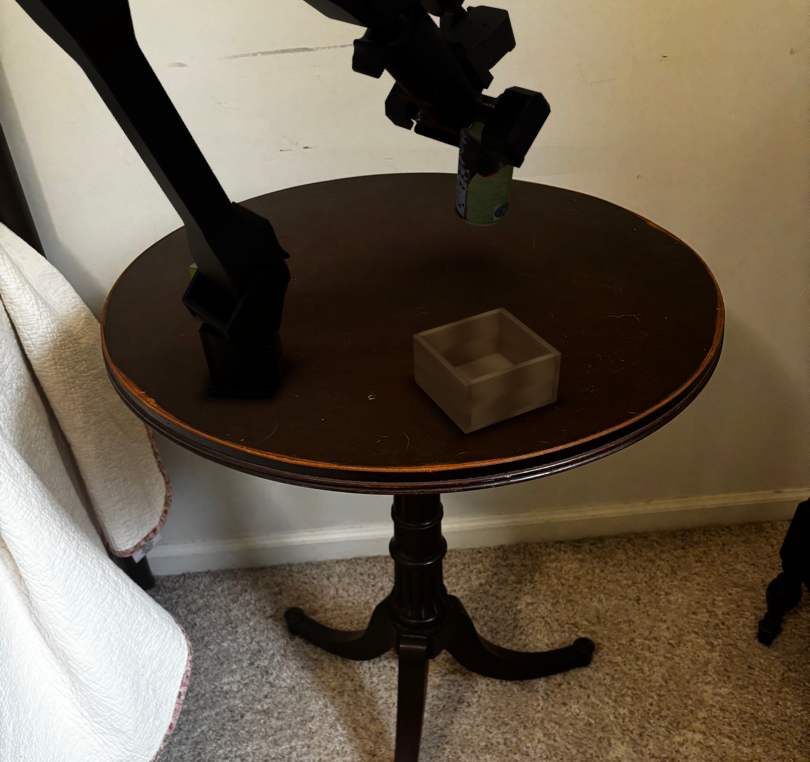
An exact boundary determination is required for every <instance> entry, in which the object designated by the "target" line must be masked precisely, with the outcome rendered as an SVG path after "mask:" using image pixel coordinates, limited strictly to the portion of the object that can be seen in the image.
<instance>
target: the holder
mask: <svg viewBox="0 0 810 762" xmlns="http://www.w3.org/2000/svg"><path fill="white" fill-rule="evenodd" d="M412 344H413V365H414V366H413V368H414V382H415V384H417V385H418V387H420V389H422V390H423V392H424V393H425V394H426V395H427V396H429V398H430V399H432V401H433V402H434V403H435V404H436V405H437V406H438V407H439V408H440V410H442V412H444V414H446V415H447V417H449V419H451V421H453V423H454V424H456V426H457V427H458V428H459V429H460V430H461V431H462V432H463V433H464V434H465V435H466V434H469V433H472V432H476V431H478V430H480V429H483V428H486V427H489V426H491V425H495V424H498V423H500V422H503V421H506V420H508V419H509V420H510V419H512V418H514V417H516V416H517V417H518V416H519V415H522V414H525V413H528V412H531V411H534V410H536V409H539V408H541V407H545V406H547V405H550V404H553V403H555V402H557V400H558V391H559V381H560V371H561V361H562V353H561V351H559V350H557V349H556V348H555V347H554V346H552V345H551V344H550V343H548V341H546V340H545V339H544V338H542V337H541V336H540V335H539V334H537V333H536V332H535V331H534V330H532V329H531V328H530V327H529V326H527V325H526V324H524V323H523V322H522V321H521V320H519V319H518V318H517V317H515V316H514V314H512V313H510V312H509V311H508V310H507V309H505V308H504V307H498V308H495V309H492V310H489V311H485V312H483V313H479V314H476V315H473V316H469V317H466V318H464V319H463V318H462V319H460V320H457V321H454V322H450V323H447V324H443V325H441V326H438V327H437V326H436V327H433V328H430V329H428V330H424V331H421V332H418V333H415V334H413V335H412Z"/></svg>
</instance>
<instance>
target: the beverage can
mask: <svg viewBox="0 0 810 762" xmlns="http://www.w3.org/2000/svg"><path fill="white" fill-rule="evenodd" d="M484 126H485V124H483V123H480V122H476V121H475V123H474V126H473V127H472V129H471V130H466V129H463V128H462V129H461V131H460V143H459V148H458V157H457V158H458V159H457V172H456V187H455V199H454V200H455V202H454V211H455V214H456V215H457V216H458V217H459V218H460V219H461V220H462V221H463V222H465V223H466V224H468V225H471V226H474V227H490V226H494V225H496V224H498V223H499V222H501V221H503V220H504V219H506V218H507V216H508V214H509V209H510V201H511V193H512V184H513V177H514V176H513V175H514V168H515V167H513V166H510V165H507V164H504V163H501V162H498V161H495V160H492V159H489V158H486V157H483V156H481V155H479V152H480V150H481V131H482V130H483V128H484Z"/></svg>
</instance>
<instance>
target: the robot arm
mask: <svg viewBox="0 0 810 762" xmlns="http://www.w3.org/2000/svg"><path fill="white" fill-rule="evenodd" d="M14 1H15V3H17V5H18V6H19V7H20V8H21V9H22V10H23V11H24V13H25V14H26V15H27V16H28V17H29V18H30V19H31V20H32V22H33V23H35V24H36V26H38V28H40V29H41V30H42V31H43V33H45V34H46V35H47V36H48V37H49V38H50V39H51V40H52V41H53V42H54V43H55V44H56V45H57V46H59V48H61V50H63V51H64V52H65V53H66V54H67V55H68V57H70V58H71V59H72V60H73V61H74V62H75V63H76V64H77V66H79V68H80V69H81V70H82V71H83V73H84V74H85V76H86V78H87V79H88V81H89V83H90V84H91V85H92V87H93V88H94V90H95V91H96V93H97V95H98V96H99V97H100V99H101V100H102V102H103V103H104V105H105V106H106V108H107V110H108V111H109V112H110V114H111V116H112V117H113V119H114V120H115V121H116V122H117V124H118V126H119V128H120V129H121V131H122V132H123V133H124V134H125V137H126V138H127V139H128V141H129V142H130V144H131V145H132V147H133V149H134V150H135V152H136V153H137V155H138V157H140V159H141V161H142V163H144V165H145V167H146V168H147V170H148V171H149V172H150V174H151V176H152V177H153V179H154V180H155V181H156V183H157V185H158V186H159V188H160V189H161V191H162V192H163V194H164V196H165V198H167V200H168V202H169V203H170V204H171V206H172V207H173V209H174V210H175V213H177V215H178V216H179V218H180V219H181V221H182V223H183V225H184V228H185V233H186V238H187V244H188V245H187V246H188V250H189V252H190V255H191V256H192V259H193V261H194V263H196V266H197V270H196V272H195V274H194V276H193V278H192V279H191V280H190V282H189V283H188V286H187V287H186V290H185V291H184V293H183V295H182V296H181V302H182V303H183V305H184V306H185V308H186V309H187V311H188V312H189V313H190V315H191V316H192V317H194V318H196V319H198V320H200V321H201V322H202V323H201V325H200V327H199V329H198V334H199V337H200V338H199V339H200V341H201V346H202V350H203V352H204V357H205V361H206V365H207V369H208V374H209V376H210V381H209V383H208V386H207V387H206V394H207V396H210V397H237V398H238V397H239V398H271V397H272V396H273V394H274V392H275V390H276V387H277V385H278V383H279V382H280V381H281V379H282V377H283V373H284V371H285V369H286V359H285V356H284V350H283V346H282V340H281V335H280V334H281V333H280V329H281V324H282V317H283V309H284V303H285V296H286V293H287V292H288V287H289V283H290V282H291V280H292V279H291V271H290V268H289V265H288V263H287V261H286V260H289V259H290V258H291V254H290V253H288V252H287V251H285V250H284V248H283V247H282V246H281V244H280V243H279V240H278V237H277V234H276V232H275V229H274V227H273V225H272V223H271V221H270V220H269V219H268V218H267V217H265V216H262V215H261V214H259V213H257V212H255V211H253V210H251V209H249V208H248V207H245V206H244V205H243V204H240V203H239V202H236V201H234V200H232V201H231V199H230V198H229V196H228V194H227V192H226V191H225V189H224V188H223V185H222V184H221V182H220V180H219V178H218V177H217V175H216V174H215V172H214V171H213V168H212V167H211V166H210V163H209V162H208V161H207V159H206V156H205V155H204V153H203V152H202V150H201V148H200V147H199V146H198V143H197V142H196V140H195V138H194V137H193V134H192V133H191V132H190V130H189V128H188V126H187V124H186V123H185V121H184V120H183V118H182V116H181V114H180V113H179V111H178V110H177V108H176V106H175V104H174V103H173V101H172V99H171V98H170V95H168V93H167V91H166V89H165V87H164V86H163V84H162V82H161V81H160V79H159V77H158V76H157V74H156V71H155V70H154V69H153V67H152V65H151V64H150V62H149V60H148V59H147V57H146V54H145V53H144V52H143V50H142V49H141V46H140V44H139V42H138V40H137V36H136V32H135V26H134V22H133V20H134V19H133V16H132V10H131V6H130V0H14ZM302 1H303V2H305V3H306V4H308V5H309V6H310V7H311V8H313V9H315V10H316V11H317V12H319V13H320V14H321V15H323V16H324V17H325V18H328V19H330V20H334V21H338V22H342V23H346V24H349V25H354V26H358V27H361V28H365V32H364V33H363V35H362V36H361V37H359V38H354V39H353V40H352V46H353V53H352V57H351V70H352V71H353V72H355V73H357V74H361V75H363V76H367V77H370V78H373V79H376V80H377V79H381V77H382V76H383V74H384V72H387V73H388V74H389V76H390V77H391V78H392V79H393V80H394V83H393V84H392V87H391V89H390V91H389V92H388V94H387V96H386V98H385V100H384V115H385V117H386V118H387V119H388V120H389V121H390V122H391V123H392V124H393V125H394V126H395V127H398V128H401V129H404V130H408V131H412V129H413V132H414V133H415V135H418V136H422V137H425V138H428V139H431V140H433V141H436V142H439V143H442V144H446V145H448V146H452V147H455V148H457V149H459V143H460V131H461V129H462V128H463V129H466V130H471V129H472V127H473V126H474V123H475V121H476V122H480V123H483V124H485V126H484V128H483V130H482V131H481V150H480V152H479V155H481V156H483V157H486V158H489V159H492V160H495V161H498V162H501V163H504V164H507V165H510V166H513V167H514V168H516V169H521V167H522V165H523V164H524V162H525V159H526V156H527V154H528V152H529V151H530V149H531V147H532V146H533V143H534V142H535V140H536V139H537V137H538V135H539V133H540V132H541V130H542V128H543V127H544V125H545V123H546V121H547V120H548V119H549V116H550V114H551V113H552V110H551V105H550V102H549V101H548V100H547V98H546V97H545V95H544V94H543V93H542V92H541V91H537V90H533V89H530V88H526V87H521V86H518V85H513V86H510V87H507V88H505V89H504V90H503V92H502V93H500V94H499V95H498V96H492V95H487V94H484V93H483V92H484V90H488V89H489V88H490V86H491V85H492V83H493V81H494V79H495V77H494V75H493V74H492V73H491V71H490V70H492V69H493V68H494V67H495V66H496V65H497V64H499V62H500V61H501V60H502V59H503V58H504V57H505V56H506V55H507V54H508V53H511V52H512V51H514V50H515V48H516V46H517V42H516V37H515V33H514V29H513V26H512V22H511V18H510V17H511V16H510V13H509V10H508V9H505V8H501V7H500V8H499V7H494V6H491V5H490V6H489V5H485V4H481V5H477V6H472V5H468V6H467V7H466V9H465V8H464V6H463V4H464V2H465V1H466V0H302ZM432 16H434V17H435V18H436V17H437V18H439V23H438V24H437V23H436V22H435V20H434V19H433V17H432ZM438 25H439V26H438Z"/></svg>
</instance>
